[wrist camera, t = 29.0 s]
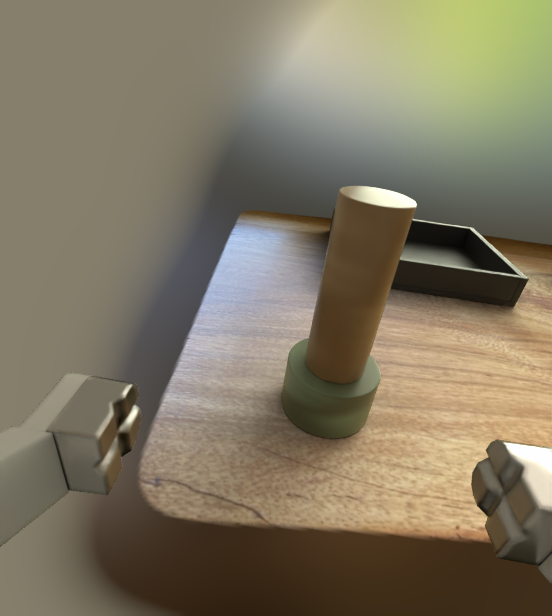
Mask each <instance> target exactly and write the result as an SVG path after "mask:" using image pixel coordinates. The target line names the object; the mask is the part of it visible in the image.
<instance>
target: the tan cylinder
mask: <svg viewBox="0 0 552 616" xmlns="http://www.w3.org/2000/svg"><path fill="white" fill-rule="evenodd" d="M416 206H417V204H416V202H415V201H414V200H412V199H410V198H409V197H407V196H405V195H402V194H399V193H396V192H393V191H389V190H384V189H379V188H373V187H365V186H348V187H344V188H341V189H340V190H339V194H338V199H337V204H336V209H335V214H334V218H333V223H332V228H331V233H330V238H329V243H328V248H327V253H326V258H325V262H324V267H323V272H322V277H321V282H320V287H319V292H318V297H317V302H316V307H315V311H314V316H313V321H312V326H311V331H310V336H309V338H308V339H305V340H302V341H300V342H298V343H297V344H296V345H295V346H294V347H293V348H292V349H291V351H290V353H289V356H288V362H287V368H286V373H285V379H284V385H283V390H282V396H281V401H282V406H283V409H284V411H285V413H286V415H287V416H288V417H289V419H290V420H291V421H292V422H293V423H294V424H295V425H297V426H298V427H299V428H301V429H302V430H304V431H306V432H308V433H310V434H313V435H316V436H319V437H324V438H344V437H347V436H350V435H353V434H354V433H356V432H358V431H359V430H360V429H361V428H362V427H363V426H364V424H365V422H366V420H367V417H368V414H369V411H370V408H371V405H372V402H373V400H374V397H375V394H376V391H377V388H378V385H379V382H380V378H381V374H380V369H379V366H378V365H377V363H376V361H375V360H374V359H373V357H372V356H371V355H370V352H371V348H372V345H373V342H374V339H375V336H376V333H377V329H378V326H379V323H380V320H381V317H382V314H383V311H384V307H385V304H386V301H387V298H388V295H389V292H390V288H391V285H392V282H393V279H394V276H395V273H396V270H397V266H398V263H399V260H400V257H401V254H402V251H403V247H404V244H405V241H406V238H407V235H408V232H409V229H410V225H411V222H412V219H413V216H414V213H415V210H416Z"/></svg>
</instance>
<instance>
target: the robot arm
mask: <svg viewBox="0 0 552 616" xmlns="http://www.w3.org/2000/svg"><path fill="white" fill-rule="evenodd" d="M138 397H139V392H138V386H137V385H136V384H134V383H129V382H123V381H118V380H113V379H107V378H102V377H95V376H88V375H83V374H77V373H68V374H66V375H64V376H63V377H62V378H61V380H60V381H59V382H58V383H57V384H56V385H55V386H54V387H53V389H52V390H51V391H50V392H49V393H48V394H47V395H46V397H45V398H44V399H43V400H42V401H41V402H40V403H39V405H38V406H37V407H36V408H35V409H34V410H33V411H32V413H31V414H30V415H29V416H28V417H27V418H26V419H25V421H24V422H23V423H22V424H21V425H20V426H19V427H12V426H11V427H9V428H7V429H5V430H3V431H1V432H0V547H1V546H2V545H3V544H5V543H6V542H7V541H8V540H10V539H11V538H12V537H13V536H14V535H16V534H17V533H18V532H20V531H21V530H22V529H23V528H25V527H26V526H27V525H28V524H29V523H31V522H32V521H34V520H35V519H36V518H37V517H39V516H40V515H41V514H42V513H44V512H45V511H46V510H47V509H49V508H50V507H51V506H52V505H54V504H55V503H56V502H57V501H59V500H60V499H61V498H62V497H64V496H65V495H66V494H67V493H68V490H72V491H79V492H87V493H95V494H102V495H109V493H110V491H111V489H112V487H113V485H114V483H115V481H116V479H117V477H118V475H119V473H120V471H121V469H122V462H121V457H122V456H124V455H125V454H127V453H128V452H130V451H131V450H132V448H133V445H134V443H135V441H136V439H137V436H138V432H139V429H140V423H141V422H140V421H141V410H140V409H139V408H138V407H137V405H135V402H136V401H137V399H138ZM486 452H487V454H488V457H489V458H487V459H485V460H483V461H481V462H478V464H477V465H476V467H475V469H474V471H473V473H472V483H471V485H472V491H473V496H474V498H475V501H476V504H477V506H478V507H479V508H480V509H481V510H482V511H483V512H484V513H485V514H486V515H487V516H488V518H487V521H486V524H485V528H486V530H487V533H488V535H489V538H490V540H491V543H492V546H493V548H494V551H495V553H496V556H497V558H500V559H505V560H510V561H516V562H521V563H526V564H531V565H537V566H539V567H538V569H539V570H540V571H541V572H542V573H543V575H544V576H545V577H546V578H547V579H548V581H549V582H550V583H551V584H552V448H551V447H544V446H542V447H541V446H538V445H531V444H524V443H517V442H510V441H504V440H495V441H493V442H491V443H490V445H489V446H488V448H487V449H486Z"/></svg>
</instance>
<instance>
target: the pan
mask: <svg viewBox="0 0 552 616" xmlns="http://www.w3.org/2000/svg"><path fill="white" fill-rule="evenodd" d="M335 209H336V208H334V211H333V216H332V221H331V226H330V233H331V228H332V223H333V218H334V214H335ZM528 280H529V279H528V278H527V277H526V276H525V275H524V274H523V273H522V272H520V271H519V270H518V269H517V268H516V267H515V266H514V265H513V264H512V263H511V262H510V261H508V260H507V259H506V258H505V257H504V256H503V255H502V254H501V253H500V252H499V251H497V250H496V249H495V248H494V247H493V246H492V245H491V244H490V243H489V242H488V241H487V240H485V239H484V238H483V237H482V236H481V235H480V234H479V233H478V232H477V231H476V230H474V229H473V228H470V227H463V226H456V225H449V224H442V223H436V222H428V221H422V220H415V219H412V222H411V225H410V229H409V232H408V235H407V238H406V241H405V244H404V247H403V251H402V254H401V257H400V260H399V263H398V266H397V270H396V273H395V276H394V279H393V282H392V285H391V289H397V290H404V291H411V292H418V293H424V294H431V295H438V296H444V297H451V298H458V299H464V300H471V301H478V302H484V303H491V304H498V305H505V306H511V307H514V306H515V304H516V302H517V300H518V298H519V297H520V295H521V293H522V291H523V289H524V287H525V285H526V283H527V281H528Z"/></svg>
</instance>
